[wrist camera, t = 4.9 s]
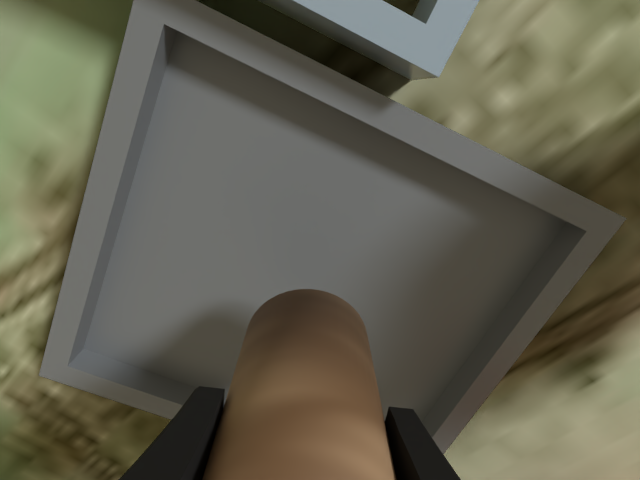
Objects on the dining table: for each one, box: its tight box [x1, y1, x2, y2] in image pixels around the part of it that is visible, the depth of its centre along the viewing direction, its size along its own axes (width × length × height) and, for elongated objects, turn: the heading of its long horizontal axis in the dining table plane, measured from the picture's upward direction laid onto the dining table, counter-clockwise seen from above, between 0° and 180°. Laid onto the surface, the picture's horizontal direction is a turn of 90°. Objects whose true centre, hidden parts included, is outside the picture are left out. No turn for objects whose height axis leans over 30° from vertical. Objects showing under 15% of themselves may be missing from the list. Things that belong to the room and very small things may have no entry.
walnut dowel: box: [202, 289, 396, 480], centre depth 9 cm, size 4×4×9 cm
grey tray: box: [39, 0, 627, 454], centre depth 16 cm, size 18×16×2 cm
